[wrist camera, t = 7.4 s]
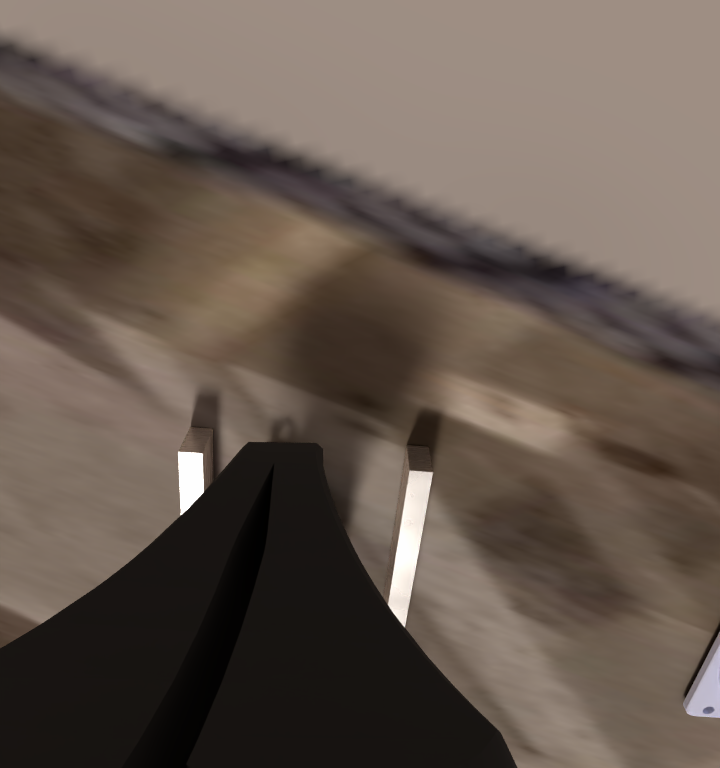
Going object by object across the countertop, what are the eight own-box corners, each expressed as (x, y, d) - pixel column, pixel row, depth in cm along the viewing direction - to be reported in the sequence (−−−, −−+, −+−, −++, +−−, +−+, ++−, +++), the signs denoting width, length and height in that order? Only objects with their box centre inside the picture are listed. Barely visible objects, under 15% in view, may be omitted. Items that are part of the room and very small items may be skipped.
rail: (428, 446, 22) (445, 540, 18) (379, 731, 30) (382, 847, 25) (190, 427, 22) (146, 517, 17) (200, 719, 29) (171, 835, 25)
